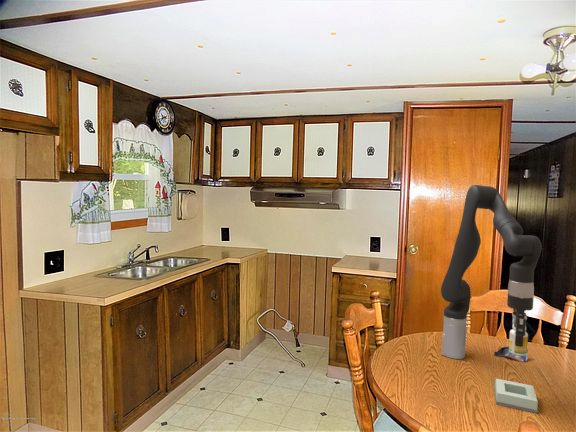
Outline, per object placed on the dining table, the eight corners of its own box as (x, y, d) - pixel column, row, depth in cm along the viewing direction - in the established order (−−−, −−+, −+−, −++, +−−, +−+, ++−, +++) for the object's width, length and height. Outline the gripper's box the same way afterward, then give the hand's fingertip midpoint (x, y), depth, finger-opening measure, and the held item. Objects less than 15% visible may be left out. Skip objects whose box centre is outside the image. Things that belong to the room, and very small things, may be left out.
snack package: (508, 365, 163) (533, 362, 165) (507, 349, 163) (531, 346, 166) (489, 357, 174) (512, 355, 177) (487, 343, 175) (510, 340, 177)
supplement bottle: (505, 351, 134) (506, 323, 134) (515, 348, 137) (516, 321, 136) (520, 357, 129) (521, 328, 129) (530, 354, 132) (532, 326, 131)
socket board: (496, 404, 131) (496, 393, 131) (493, 382, 146) (494, 372, 146) (538, 413, 126) (538, 401, 126) (531, 389, 141) (531, 379, 141)
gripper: (506, 288, 140) (504, 334, 141) (509, 297, 127) (506, 348, 128) (530, 290, 137) (528, 337, 138) (536, 300, 124) (533, 352, 125)
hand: (517, 342), depth 133 cm, fingers closed on supplement bottle, 5 cm apart
